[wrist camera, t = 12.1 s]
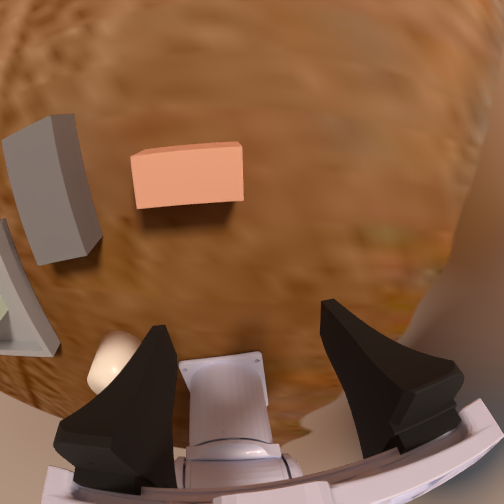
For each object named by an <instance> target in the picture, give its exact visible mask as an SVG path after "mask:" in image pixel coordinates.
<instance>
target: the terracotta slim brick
mask: <svg viewBox="0 0 504 504" xmlns="http://www.w3.org/2000/svg"><path fill="white" fill-rule="evenodd" d="M131 167H132V175H133V183H134V191H135V198H136V205H137V209H143V208H153V207H163V206H174V205H186V204H199V203H213V202H228V201H244V196H243V162H242V146H241V145H240V144H239V142H219V143H204V144H191V145H180V146H170V147H161V148H153V149H145V150H143V151H141V152H139V153H137V154H135V155H133V156H131Z"/></svg>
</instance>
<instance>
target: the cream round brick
mask: <svg viewBox="0 0 504 504" xmlns="http://www.w3.org/2000/svg"><path fill="white" fill-rule="evenodd" d="M141 343H142V342H141V341H140V340H139V339H138V338H137V337H135V336H134V335H132V334H130V333H127V332H124V331H118V330H116V331H110V332H107V333H106V334H105V335H104V336H103V337H102V340H101V342H100V345H99V347H98V350H97V353H96V355H95V358H94V361H93V363H92V366H91V369H90V372H89V375H88V377H87V382H88V384H89V386H90V388H91V389H92V390H93V391H94V392H95V393H96V394H97V395H98V394H99V393H100V392H101V391H103V390H104V389H105V388H106V387H107V386H108V385H109V384H110V383H111V382H112V381H113V380H114V378H115V377H116V376H117V375H118V374H119V373H120V372H121V370H122V369H123V368H124V366H125V365H126V364H127V363H128V361H129V360H130V359H131V357H132V356H133V354H134V353H135V351H136V350H137V349H138V347H139V346H140V344H141Z"/></svg>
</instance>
